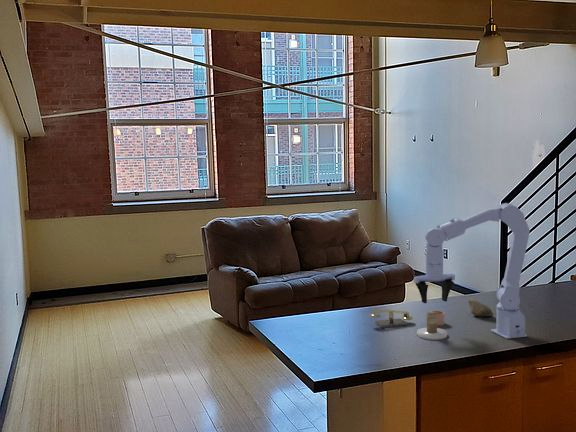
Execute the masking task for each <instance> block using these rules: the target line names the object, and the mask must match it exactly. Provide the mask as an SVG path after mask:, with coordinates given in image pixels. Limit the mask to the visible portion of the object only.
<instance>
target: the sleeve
mask: <svg viewBox="0 0 576 432" xmlns="http://www.w3.org/2000/svg"><path fill="white" fill-rule="evenodd" d="M429 312H436V313H437V327H439V326H441V327H442V326H444V325H445V324H446V321H445V319H446V316H445V315H446V314H445V312H444V311H442V310H430V311H429Z"/></svg>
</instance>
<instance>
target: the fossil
mask: <svg viewBox="0 0 576 432" xmlns="http://www.w3.org/2000/svg"><path fill="white" fill-rule="evenodd" d="M467 302H468V305H469V308H470V312H471V314H472V315H474V316H475V317H478V318H483V317H493V316H494V312H493V311H492V309H491V308H490V307H489V306H488V305H486V304H484V303H482V302H479V301H477V300H476V299H471V298H470V299H468V300H467Z"/></svg>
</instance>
